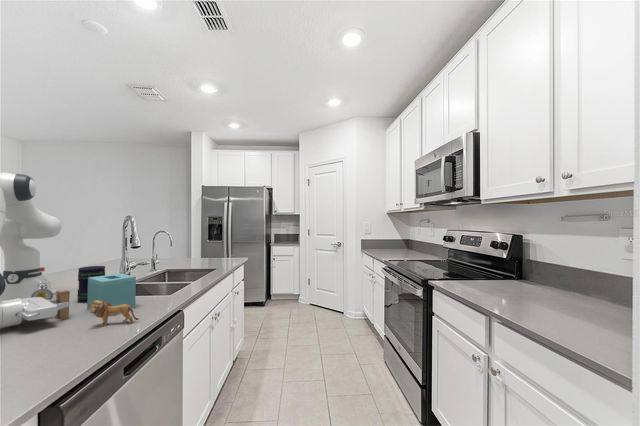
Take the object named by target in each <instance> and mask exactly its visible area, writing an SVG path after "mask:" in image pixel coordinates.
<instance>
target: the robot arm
mask: <svg viewBox="0 0 640 426" xmlns="http://www.w3.org/2000/svg"><path fill="white" fill-rule="evenodd" d="M36 192H37V185H36V182H35V180H34V179H33V178H32V177H31V176H29V175H27V174H23V173H16V174H15V173H11V172H4V171H3V172H0V248H1V250H2V252H3V255H4V256H3V257H4V259H3V260H4V270H3V271H2V273H1V272H0V329H4V328H10V327H14V326H17V325H21V324H22V321H24V320H26V321H35V320H36V321H37V320H41V319H42V320H43V319H47V318H51V317H56V315H57V312H58V310H59V309H62V308H65V307H69V308H70V301H69V302H62V303H59V304H56V299H51V300H46V299H44V298H43V297H32V298H31V295H32V294H33V293H34V292H35V291H37V290H39V289H41V287H39V286H41V285H43V286H44V287H43V289H49V290H50V291H51V292H52V294H53V295H55V294H56V292H57V291H58V290H57V289H52V282H51V281H50V280H49V279H47V278H46V277H45V276H44V275H43V272H45V271H46V268H45V267H40V262H41V260H40V259H41V253H40V251H39V250H38V249H37V248H35V247H33V246H30V245H27V244H26V243H25V241H24V240H25V239H26V240H31V239H32V240H33V239H34V240H37V239H39V240H41V239H48V238H53V237H56V236H58V235H59V234H60V233H61V231H62V228H63V226H62V222H61V220H60V219H59V218H58V217H56V216H52V215H50V214H47V213H46V212H44V211H42V210H40V209H39V208H38V207H36V205H35V204H34V201H33V200H32V199H33V198H34V197H35V195H36ZM40 283H42V284H40ZM44 283H46V284H47V285H46V284H44ZM39 284H40V285H39ZM38 285H39V286H38ZM45 285H46V286H45ZM45 296H47V297H48V295H47V294H45ZM47 297H45V298H47Z"/></svg>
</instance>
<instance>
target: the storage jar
mask: <svg viewBox="0 0 640 426" xmlns="http://www.w3.org/2000/svg"><path fill="white" fill-rule="evenodd" d="M105 269H106V266H105V265H94V266H93V265H91V266H83V267H79V268H78V272H77V281H78V289H77V293H76V294H77V303H78V304H87V299H88V278H90V277H97V276H105V275H106V270H105Z"/></svg>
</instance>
